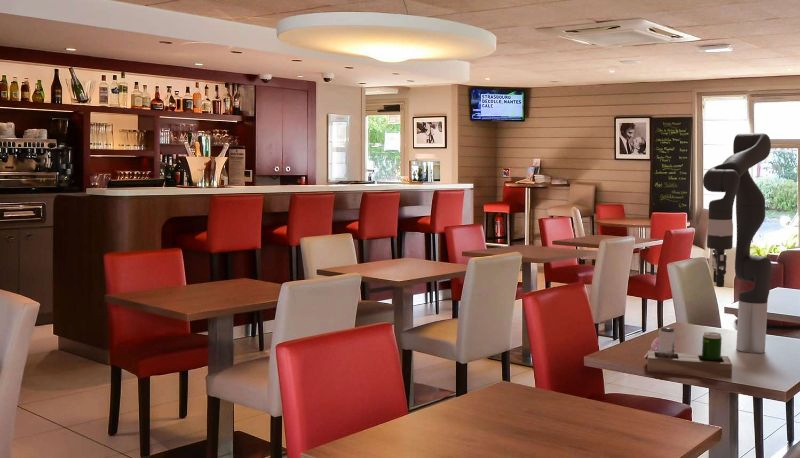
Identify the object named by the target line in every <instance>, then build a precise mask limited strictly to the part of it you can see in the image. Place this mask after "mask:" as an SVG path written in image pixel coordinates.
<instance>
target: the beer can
mask: <svg viewBox="0 0 800 458" xmlns="http://www.w3.org/2000/svg"><path fill="white" fill-rule="evenodd" d="M722 338H723V337H722V334H721V333H719V332H716V331H715V332H714V331H705V332H703V334H702V346H701V347H702V348H701V354H702V361H712V362H720V361H721V356H722V340H723V339H722Z"/></svg>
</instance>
